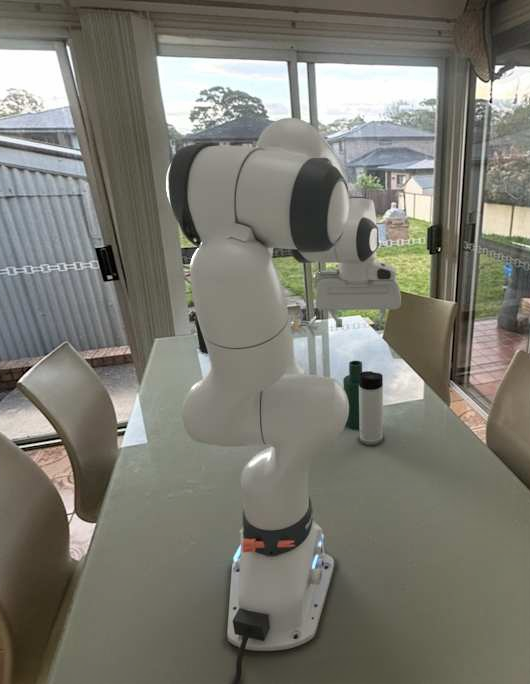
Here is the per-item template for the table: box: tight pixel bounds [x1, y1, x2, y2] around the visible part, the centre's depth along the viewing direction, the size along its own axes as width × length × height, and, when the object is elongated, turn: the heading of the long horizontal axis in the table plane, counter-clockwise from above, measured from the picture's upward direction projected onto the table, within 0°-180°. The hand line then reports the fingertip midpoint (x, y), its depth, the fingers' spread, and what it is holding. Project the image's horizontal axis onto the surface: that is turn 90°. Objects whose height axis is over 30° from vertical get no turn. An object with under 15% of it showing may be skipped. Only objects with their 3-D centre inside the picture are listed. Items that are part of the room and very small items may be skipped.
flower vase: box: [284, 310, 319, 375], centre depth 150 cm, size 13×18×25 cm
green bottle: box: [342, 360, 363, 430], centre depth 125 cm, size 7×7×19 cm
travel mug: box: [359, 370, 384, 446], centre depth 117 cm, size 6×7×20 cm
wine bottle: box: [194, 314, 208, 353], centre depth 177 cm, size 8×8×30 cm
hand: (358, 326), depth 107 cm, fingers open, 8 cm apart
